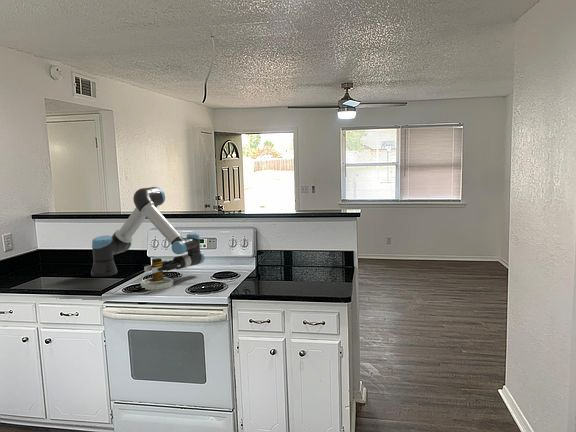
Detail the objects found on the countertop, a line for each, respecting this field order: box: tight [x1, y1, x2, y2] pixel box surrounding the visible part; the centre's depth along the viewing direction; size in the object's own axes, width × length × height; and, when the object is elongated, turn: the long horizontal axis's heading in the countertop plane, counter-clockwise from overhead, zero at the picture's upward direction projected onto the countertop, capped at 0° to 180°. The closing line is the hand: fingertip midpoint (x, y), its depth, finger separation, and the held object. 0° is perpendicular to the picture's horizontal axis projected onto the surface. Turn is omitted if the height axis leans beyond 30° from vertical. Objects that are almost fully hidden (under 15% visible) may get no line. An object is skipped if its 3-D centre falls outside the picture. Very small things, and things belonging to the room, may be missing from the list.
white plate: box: [140, 276, 174, 291], centre depth 258 cm, size 17×17×2 cm
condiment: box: [146, 258, 165, 282], centre depth 257 cm, size 7×8×12 cm
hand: (148, 269), depth 252 cm, fingers closed on condiment, 6 cm apart
